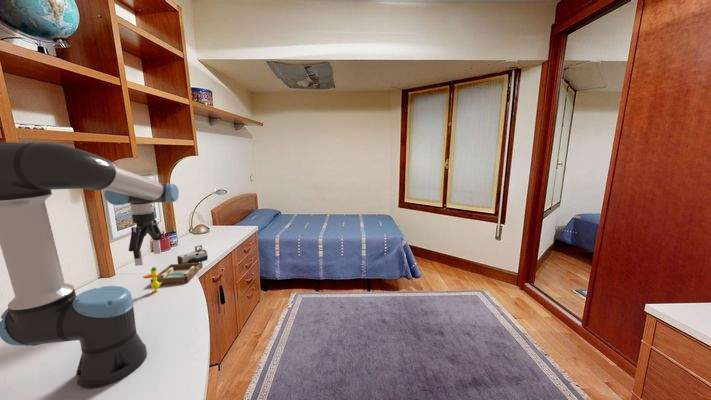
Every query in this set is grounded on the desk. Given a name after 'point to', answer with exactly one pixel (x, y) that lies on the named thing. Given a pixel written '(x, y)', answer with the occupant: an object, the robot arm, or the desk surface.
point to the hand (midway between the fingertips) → (149, 259)
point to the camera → (193, 256)
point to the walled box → (178, 273)
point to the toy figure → (153, 275)
